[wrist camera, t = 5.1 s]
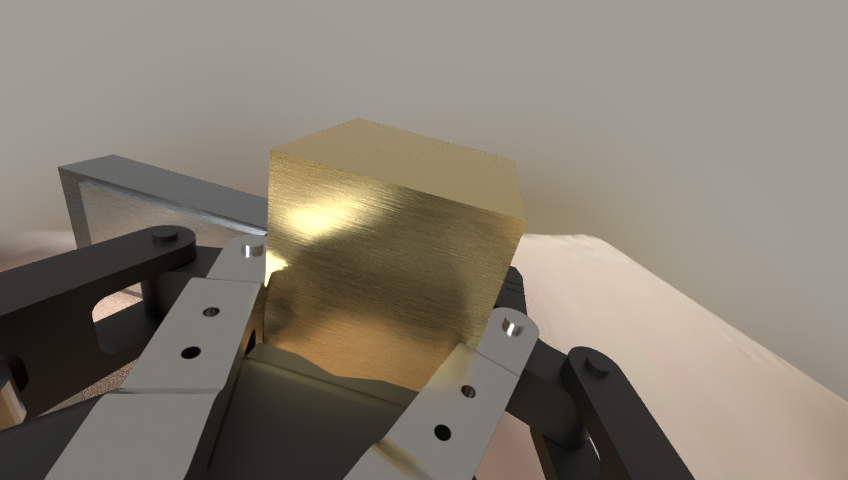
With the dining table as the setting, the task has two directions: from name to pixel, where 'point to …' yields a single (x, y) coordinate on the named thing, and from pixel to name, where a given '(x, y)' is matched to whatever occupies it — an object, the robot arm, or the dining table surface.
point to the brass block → (385, 249)
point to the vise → (154, 204)
